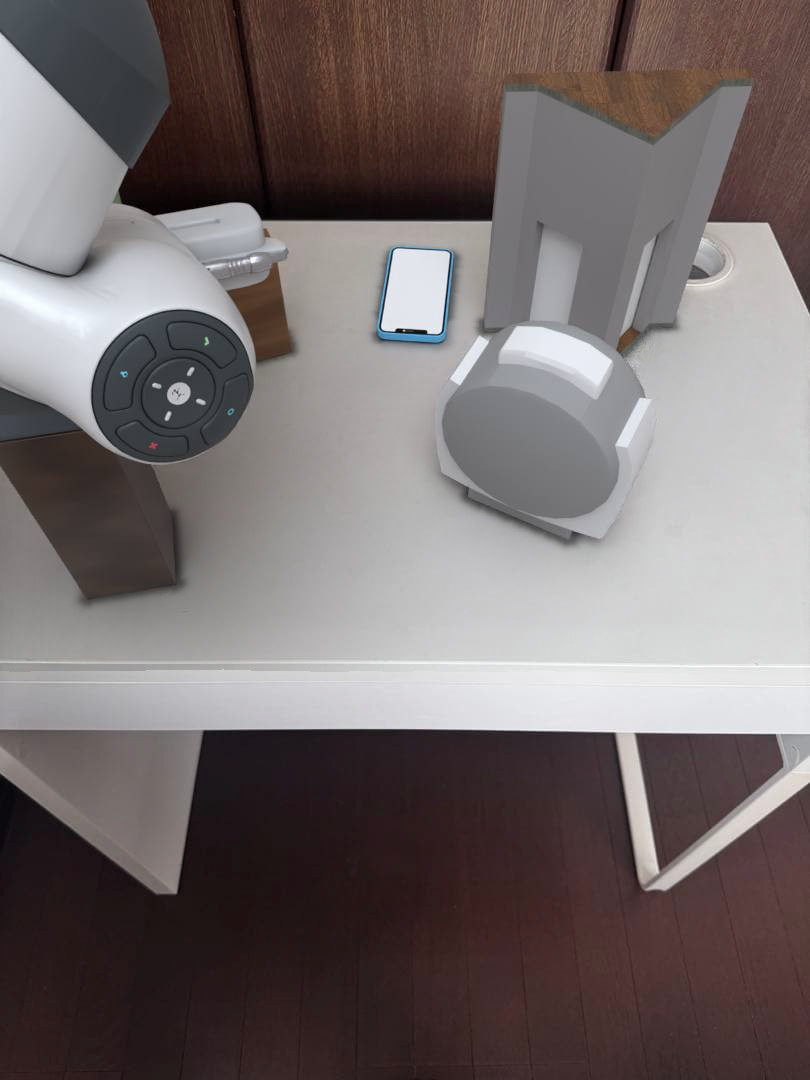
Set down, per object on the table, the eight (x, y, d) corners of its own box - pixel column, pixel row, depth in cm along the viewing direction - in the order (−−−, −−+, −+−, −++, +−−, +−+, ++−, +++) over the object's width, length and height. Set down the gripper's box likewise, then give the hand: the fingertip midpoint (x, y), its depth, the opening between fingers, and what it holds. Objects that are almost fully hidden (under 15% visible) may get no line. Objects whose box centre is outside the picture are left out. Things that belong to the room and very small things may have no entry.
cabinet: (669, 317, 98) (750, 68, 74) (686, 380, 92) (780, 134, 69) (483, 322, 97) (505, 73, 74) (490, 386, 92) (516, 141, 69)
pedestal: (86, 599, 79) (-14, 445, 60) (87, 527, 83) (-7, 362, 64) (176, 584, 79) (104, 428, 61) (171, 513, 84) (103, 347, 65)
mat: (-11, 443, 60) (-14, 438, 60) (-4, 364, 64) (-7, 359, 64) (101, 426, 61) (99, 421, 61) (100, 349, 65) (98, 344, 65)
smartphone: (454, 249, 103) (444, 337, 94) (453, 257, 104) (444, 345, 95) (390, 245, 103) (376, 333, 95) (391, 253, 104) (376, 341, 96)
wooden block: (292, 352, 95) (275, 246, 83) (202, 376, 93) (172, 272, 82) (284, 333, 97) (266, 227, 85) (196, 357, 95) (165, 252, 83)
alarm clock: (631, 502, 84) (687, 351, 67) (599, 569, 80) (650, 426, 63) (464, 435, 89) (476, 277, 72) (425, 495, 85) (428, 343, 68)
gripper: (290, 201, 50) (229, 164, 60) (-100, 269, 44) (-90, 214, 54) (305, 309, 53) (245, 256, 64) (-54, 386, 47) (-54, 313, 58)
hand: (88, 237), depth 59 cm, fingers closed on toy, 5 cm apart
